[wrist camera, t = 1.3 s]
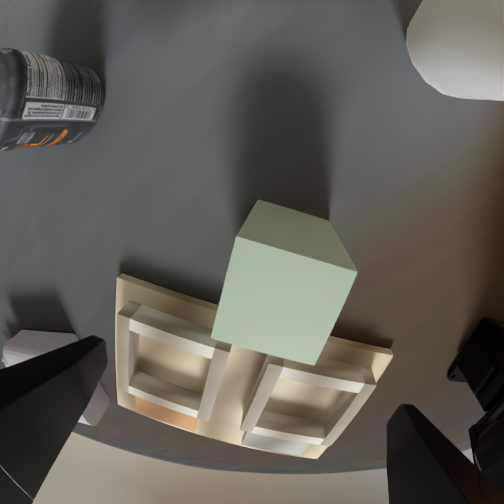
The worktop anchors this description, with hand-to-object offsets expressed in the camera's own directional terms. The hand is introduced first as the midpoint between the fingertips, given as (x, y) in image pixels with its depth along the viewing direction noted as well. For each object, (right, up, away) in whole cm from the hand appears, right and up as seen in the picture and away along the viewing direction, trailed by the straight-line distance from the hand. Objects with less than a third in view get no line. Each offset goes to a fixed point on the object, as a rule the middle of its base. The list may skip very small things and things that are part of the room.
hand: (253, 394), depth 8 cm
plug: (+2, +4, +11) cm, 12 cm away
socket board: (-1, -7, +16) cm, 17 cm away
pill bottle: (-13, +15, +9) cm, 22 cm away
